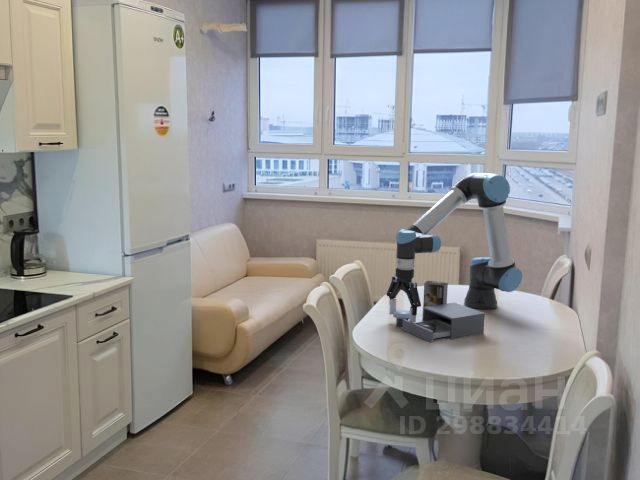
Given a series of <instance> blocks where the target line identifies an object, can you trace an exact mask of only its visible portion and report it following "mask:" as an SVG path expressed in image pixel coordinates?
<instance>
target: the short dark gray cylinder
mask: <svg viewBox="0 0 640 480" xmlns="http://www.w3.org/2000/svg"><path fill="white" fill-rule="evenodd" d="M395 319H396V320H395V321H396V322H395V325H396V327H398V328H402V324H403V319H399V318H395ZM406 320H408V321H409V319H406Z"/></svg>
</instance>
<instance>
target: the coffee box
mask: <svg viewBox="0 0 640 480" xmlns="http://www.w3.org/2000/svg"><path fill="white" fill-rule="evenodd" d="M448 284H449V283H448V282H443V281H436V280H426V281H425V282H424V284H423V300H422V301H423V303H422V308H423V307H427V306H434V305H440V304H447V303H448Z"/></svg>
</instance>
